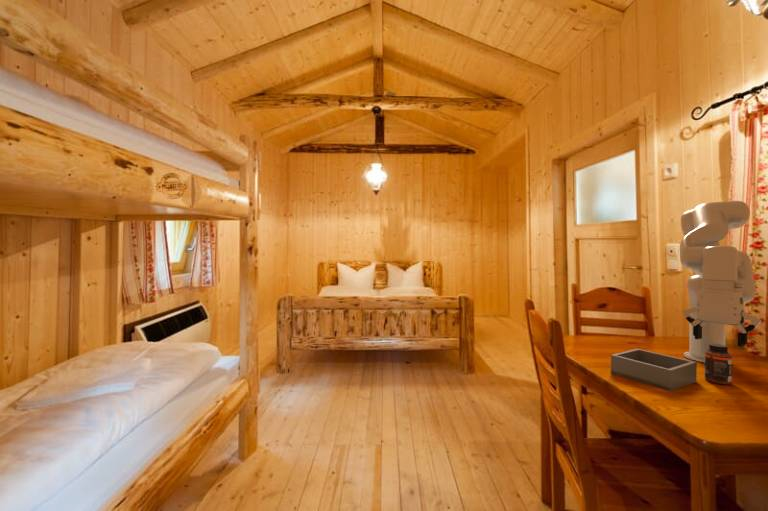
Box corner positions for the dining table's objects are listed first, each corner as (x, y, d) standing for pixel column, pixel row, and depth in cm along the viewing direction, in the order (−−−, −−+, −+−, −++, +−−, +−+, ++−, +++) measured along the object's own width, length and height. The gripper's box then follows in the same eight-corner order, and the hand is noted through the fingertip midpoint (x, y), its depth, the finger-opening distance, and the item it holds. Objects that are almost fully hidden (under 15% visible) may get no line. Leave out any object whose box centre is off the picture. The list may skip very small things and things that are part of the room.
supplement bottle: (737, 386, 98) (738, 348, 98) (714, 384, 99) (714, 347, 99) (721, 378, 104) (722, 343, 104) (699, 377, 105) (699, 341, 105)
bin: (637, 365, 115) (637, 348, 115) (696, 381, 101) (696, 362, 101) (610, 373, 108) (611, 354, 108) (670, 391, 94) (671, 370, 94)
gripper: (765, 288, 95) (765, 348, 95) (688, 284, 110) (688, 335, 110) (755, 289, 91) (755, 350, 91) (678, 284, 107) (677, 337, 107)
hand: (718, 342), depth 101 cm, fingers open, 9 cm apart
